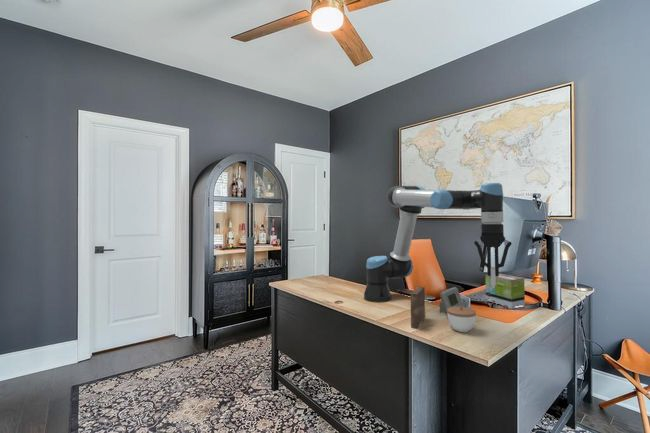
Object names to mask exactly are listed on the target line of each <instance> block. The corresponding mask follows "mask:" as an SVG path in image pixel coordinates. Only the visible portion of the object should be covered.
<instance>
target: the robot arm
mask: <svg viewBox="0 0 650 433" xmlns="http://www.w3.org/2000/svg"><path fill="white" fill-rule="evenodd" d="M386 201H387V203H388V204H389V206H391V207H393V208H395V209H396V208H397V209H399V211H400V217H399V222H398V227H397V231H396V237H395V242H394V246H393V251H391V252H390V253H389V257H387V255H375V256H371V257H369V258H367V260H366V264H365V265H366V266H365V267H366V286H365V289H364V290H365V291H364V292H363V299H364V300H366V301H368V302H374V303H375V302H376V303H383V302H389V301H391V300H392V292H391V290H390V288H389V283H388V282H389V279H404V278H407V277H409V276H411V274H412V272H413V271H414V270H413V269H414V264H413V263H414V262H413V260H412V258H411V256H410V250H411V245H412V241H413V236H414V231H415V228H416V222H417V219H418V216H419V215H420V214H421V213H422V210H423V209H425V208H433V209H436V210H475V209H477V210H478V209H480V212H481V213H480V220H481V221H480V222H481V223H482V224H481V226H480V228H481V232H480V234H481V235H480V237H479V239H477V240H475V241H474V245H475V246H476V248H477V252H478V255H479V258H480V259H479V260H480V262H481V265H482V266H483V267H485V268H487V274H486V275H488V276H491V285H496V279H495V276H499V272H500V270H499V269H500V268H503V267H504V266H505V262H506V260H507V256H508V251H509V248H510V247H511V246H512V244H513V243H512V241H509V240H508V239H506V237H505V233H504V231H505V230H504V229H505V228H504V224H503V222H504V191H503V185H502V184H501V183H500V182H488V183H482V184H481V185H480V189H477V190H448V189H447V190H446V189H439V190H438V189H426V188H424V187H423V186H418V185H394V186H393V187H390V189H388V191H387V193H386ZM482 244H483V245H484V246H485V247H486V259H487V260H486V259H485V255H484V252H483V248H482V246H481V245H482ZM502 244H504V250H503V252H502V257H501V260H500V259H499V248H500V247H501V245H502ZM491 248H494V266H493V267H492V251H491V250H492V249H491ZM499 260H500V262H499Z"/></svg>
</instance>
